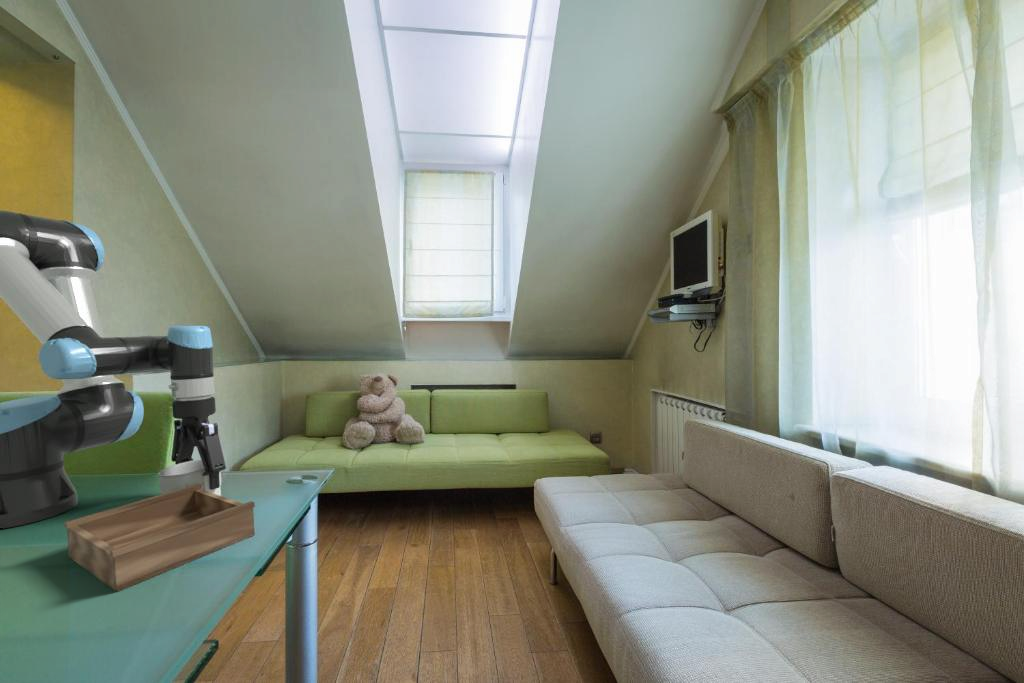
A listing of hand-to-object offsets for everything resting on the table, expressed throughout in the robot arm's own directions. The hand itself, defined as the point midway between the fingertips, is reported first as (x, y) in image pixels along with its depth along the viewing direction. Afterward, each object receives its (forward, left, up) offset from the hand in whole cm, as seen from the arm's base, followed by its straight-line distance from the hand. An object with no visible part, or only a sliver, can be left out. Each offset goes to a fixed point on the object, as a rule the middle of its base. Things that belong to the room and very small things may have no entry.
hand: (199, 498), depth 96 cm
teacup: (0, 0, 0) cm, 1 cm away
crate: (+18, -13, 0) cm, 22 cm away
